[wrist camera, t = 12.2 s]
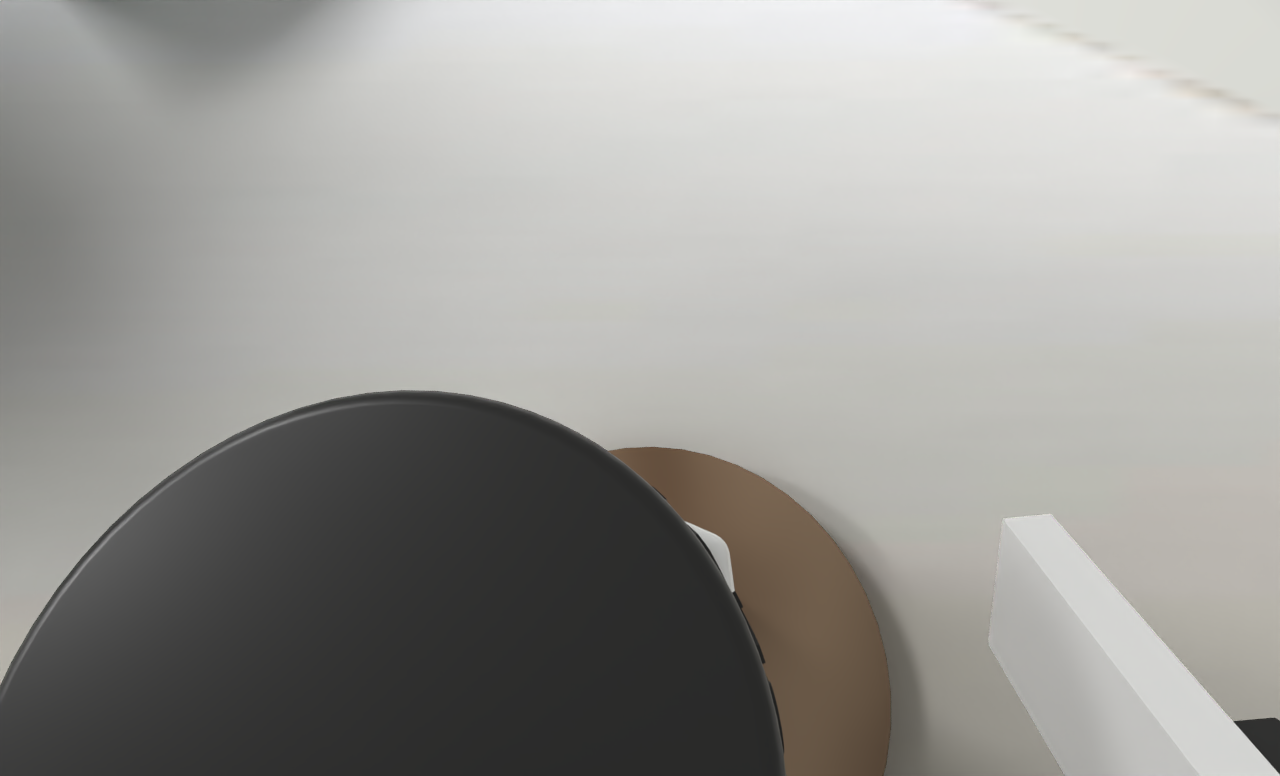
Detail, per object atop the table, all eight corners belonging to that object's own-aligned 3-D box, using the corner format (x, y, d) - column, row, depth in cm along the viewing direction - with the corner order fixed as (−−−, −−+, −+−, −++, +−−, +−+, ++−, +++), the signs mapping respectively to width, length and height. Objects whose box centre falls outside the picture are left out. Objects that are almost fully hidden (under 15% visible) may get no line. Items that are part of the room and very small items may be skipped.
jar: (764, 884, 16) (904, 1471, 5) (415, 915, 17) (-197, 1524, 5) (713, 496, 19) (725, 305, 8) (417, 529, 20) (24, 394, 8)
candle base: (423, 967, 17) (406, 987, 16) (427, 478, 21) (414, 471, 20) (927, 932, 17) (941, 949, 16) (836, 434, 20) (842, 424, 20)
